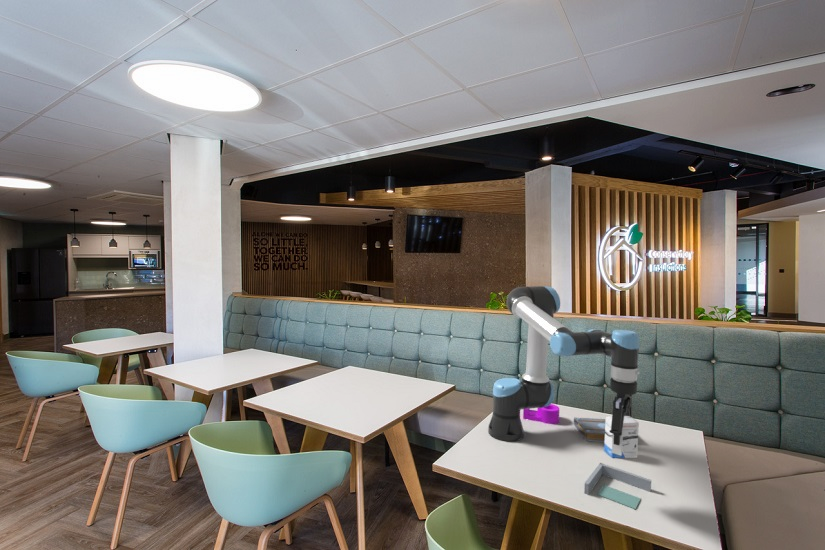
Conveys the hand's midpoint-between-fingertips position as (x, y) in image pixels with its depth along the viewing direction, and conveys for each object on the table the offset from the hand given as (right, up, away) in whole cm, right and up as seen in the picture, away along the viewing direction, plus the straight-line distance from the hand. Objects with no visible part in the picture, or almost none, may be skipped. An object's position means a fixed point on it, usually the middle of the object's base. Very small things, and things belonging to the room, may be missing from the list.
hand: (620, 448), depth 125 cm
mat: (0, -16, +1) cm, 16 cm away
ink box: (0, -2, 0) cm, 2 cm away
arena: (+1, -16, +4) cm, 16 cm away
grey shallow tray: (+17, -15, +46) cm, 52 cm away
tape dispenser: (-5, -14, +62) cm, 64 cm away
